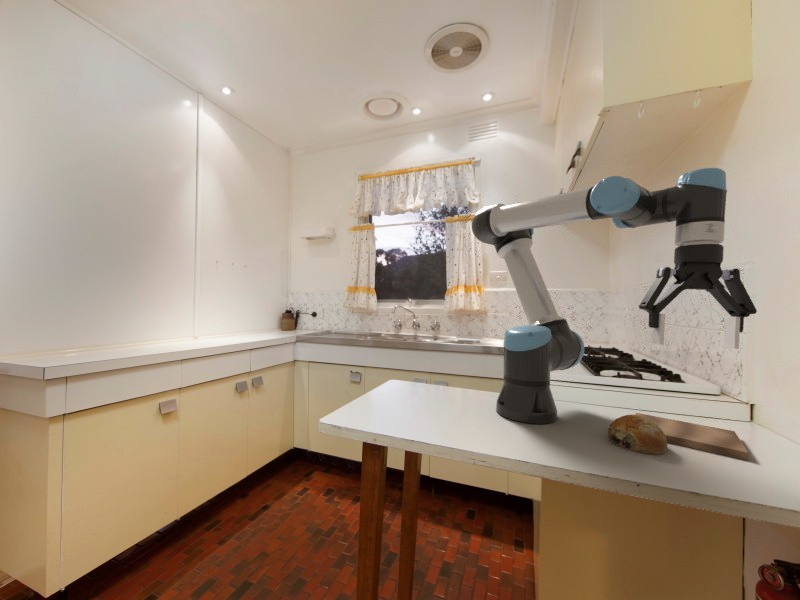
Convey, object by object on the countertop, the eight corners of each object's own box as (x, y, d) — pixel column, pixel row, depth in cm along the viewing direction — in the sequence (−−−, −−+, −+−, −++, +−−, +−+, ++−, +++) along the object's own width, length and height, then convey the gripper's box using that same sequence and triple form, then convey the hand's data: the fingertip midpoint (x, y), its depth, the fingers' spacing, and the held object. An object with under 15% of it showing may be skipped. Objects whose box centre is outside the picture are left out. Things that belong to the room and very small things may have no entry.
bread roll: (668, 476, 61) (689, 440, 61) (615, 448, 63) (635, 413, 63) (640, 453, 71) (658, 422, 70) (595, 429, 73) (612, 399, 72)
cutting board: (632, 434, 72) (632, 427, 72) (635, 418, 83) (635, 412, 83) (748, 460, 61) (748, 452, 61) (734, 437, 71) (734, 431, 71)
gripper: (643, 241, 65) (638, 344, 65) (787, 242, 60) (781, 352, 61) (623, 247, 72) (619, 339, 72) (750, 249, 68) (746, 346, 68)
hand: (693, 345), depth 66 cm, fingers open, 13 cm apart
